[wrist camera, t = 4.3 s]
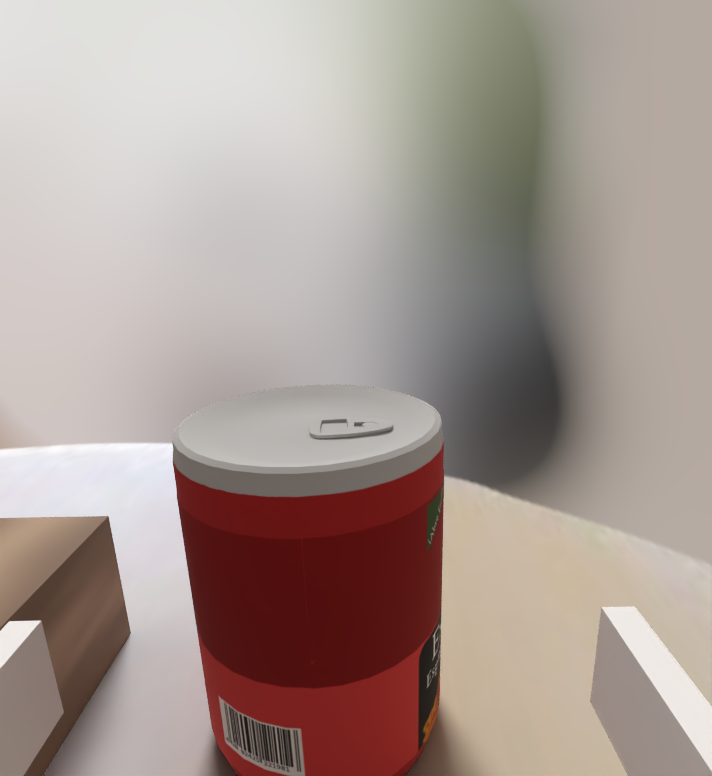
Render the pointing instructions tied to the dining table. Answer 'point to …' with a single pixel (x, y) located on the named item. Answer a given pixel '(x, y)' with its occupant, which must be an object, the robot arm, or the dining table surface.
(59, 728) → the walnut box
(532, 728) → the dining table surface
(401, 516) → the canned food
